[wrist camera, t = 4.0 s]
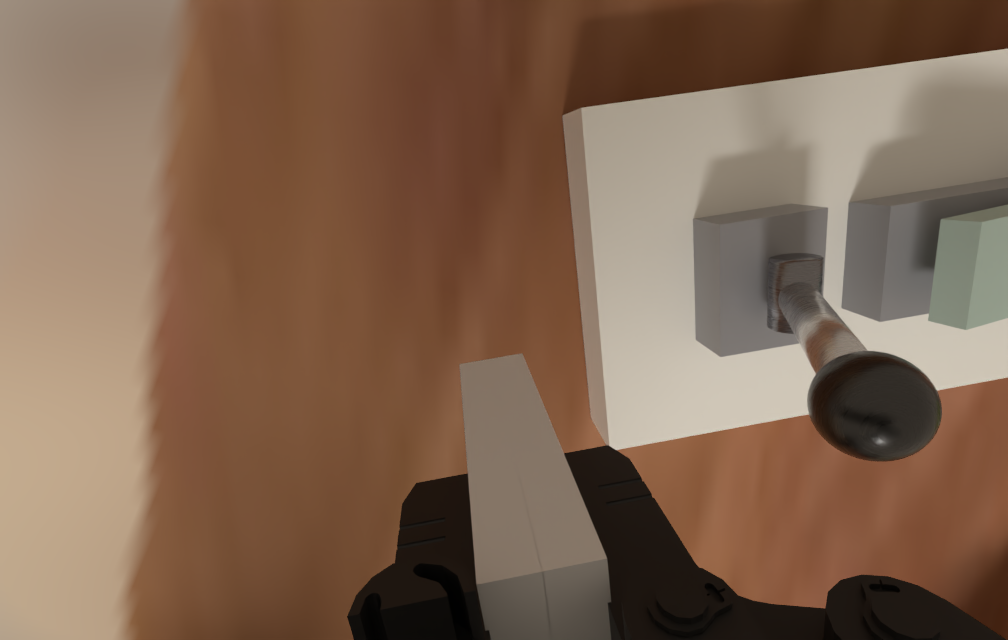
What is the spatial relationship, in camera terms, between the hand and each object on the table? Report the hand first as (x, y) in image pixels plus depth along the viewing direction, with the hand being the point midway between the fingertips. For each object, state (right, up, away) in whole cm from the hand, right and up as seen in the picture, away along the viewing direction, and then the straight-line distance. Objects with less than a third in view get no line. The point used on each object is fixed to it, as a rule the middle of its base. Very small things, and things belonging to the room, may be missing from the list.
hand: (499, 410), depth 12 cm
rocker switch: (+18, +4, +5) cm, 19 cm away
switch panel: (+16, +6, +12) cm, 21 cm away
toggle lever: (+10, +3, +5) cm, 12 cm away
